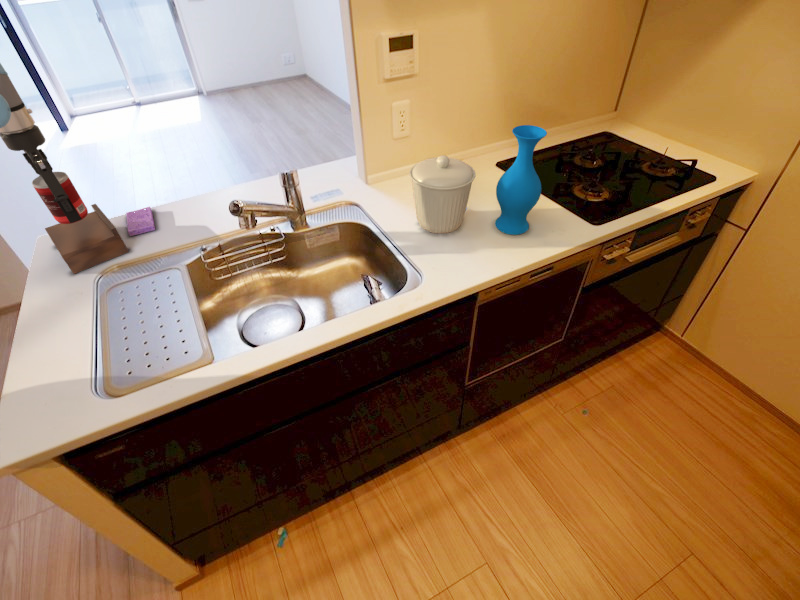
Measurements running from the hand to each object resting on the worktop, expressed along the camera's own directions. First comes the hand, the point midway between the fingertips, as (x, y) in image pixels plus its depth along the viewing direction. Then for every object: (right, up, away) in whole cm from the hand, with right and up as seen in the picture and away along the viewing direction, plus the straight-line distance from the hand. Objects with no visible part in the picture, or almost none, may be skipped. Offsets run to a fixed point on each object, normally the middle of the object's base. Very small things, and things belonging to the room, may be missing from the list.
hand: (71, 214), depth 113 cm
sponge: (+8, 0, +17) cm, 19 cm away
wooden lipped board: (0, -8, +8) cm, 11 cm away
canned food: (0, -1, +1) cm, 1 cm away
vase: (+121, -1, +13) cm, 121 cm away
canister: (+99, 0, +14) cm, 100 cm away
